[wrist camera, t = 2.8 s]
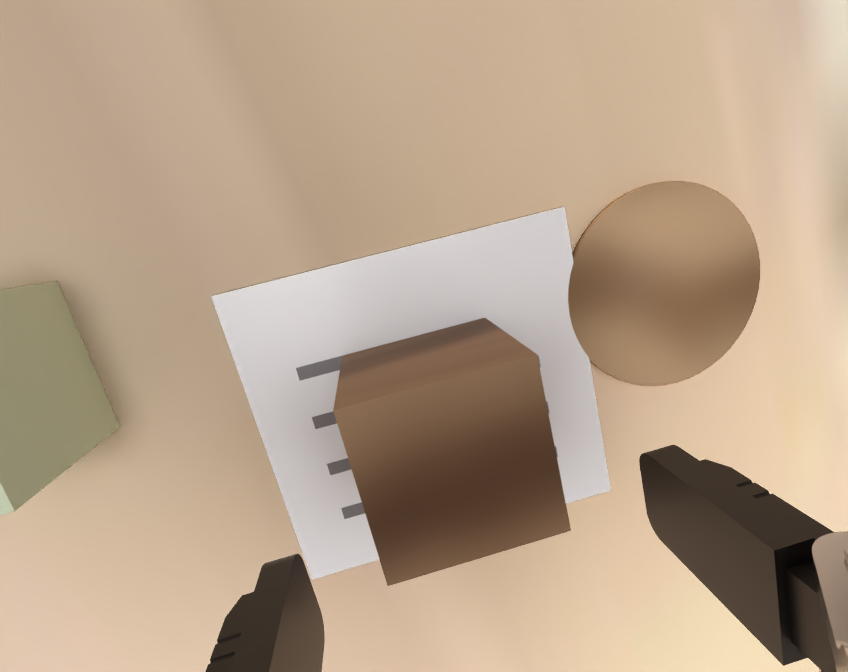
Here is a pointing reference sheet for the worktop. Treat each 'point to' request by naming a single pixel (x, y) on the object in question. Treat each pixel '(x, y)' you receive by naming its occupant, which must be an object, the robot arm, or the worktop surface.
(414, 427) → the walnut block
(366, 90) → the worktop surface
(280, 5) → the worktop surface
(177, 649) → the worktop surface
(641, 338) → the coaster
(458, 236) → the letter
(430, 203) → the worktop surface
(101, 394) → the sage cube
